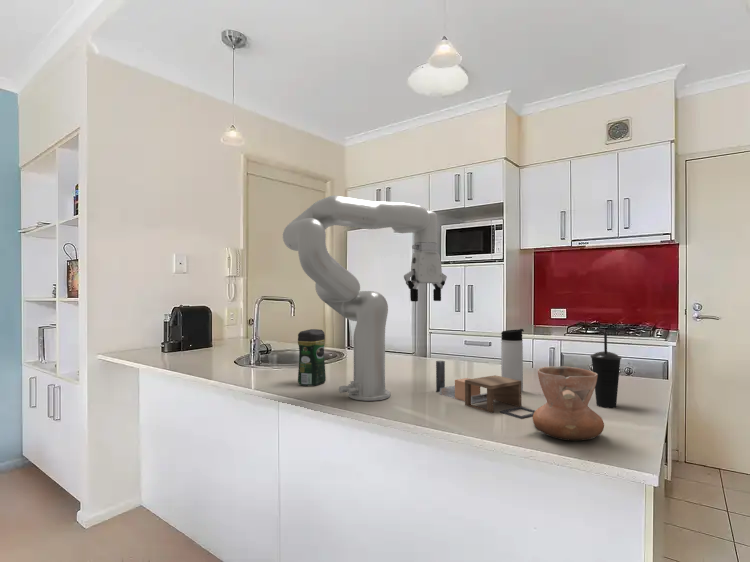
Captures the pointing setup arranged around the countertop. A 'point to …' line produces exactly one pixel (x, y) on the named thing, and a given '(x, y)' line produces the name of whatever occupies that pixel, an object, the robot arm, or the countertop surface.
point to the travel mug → (512, 355)
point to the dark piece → (518, 415)
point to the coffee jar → (311, 357)
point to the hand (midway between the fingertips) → (425, 301)
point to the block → (461, 389)
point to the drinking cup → (606, 376)
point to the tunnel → (495, 391)
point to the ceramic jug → (567, 404)
